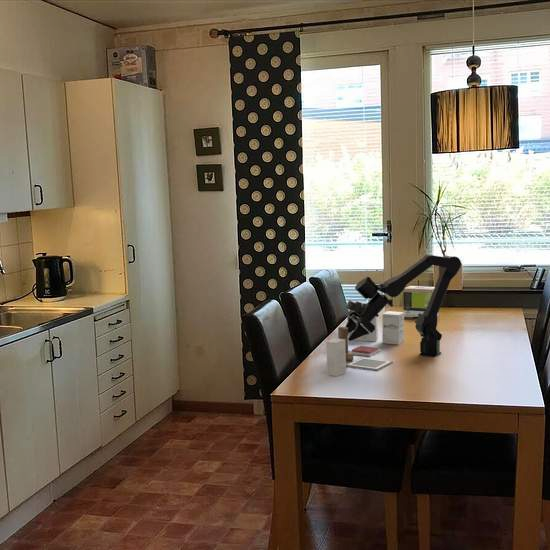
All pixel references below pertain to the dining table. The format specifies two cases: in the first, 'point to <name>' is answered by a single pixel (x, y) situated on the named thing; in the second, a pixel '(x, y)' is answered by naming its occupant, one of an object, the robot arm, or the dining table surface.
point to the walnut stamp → (344, 335)
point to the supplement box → (393, 327)
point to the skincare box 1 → (336, 357)
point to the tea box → (416, 300)
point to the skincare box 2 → (370, 336)
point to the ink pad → (365, 351)
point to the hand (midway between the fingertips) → (345, 337)
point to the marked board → (369, 364)
